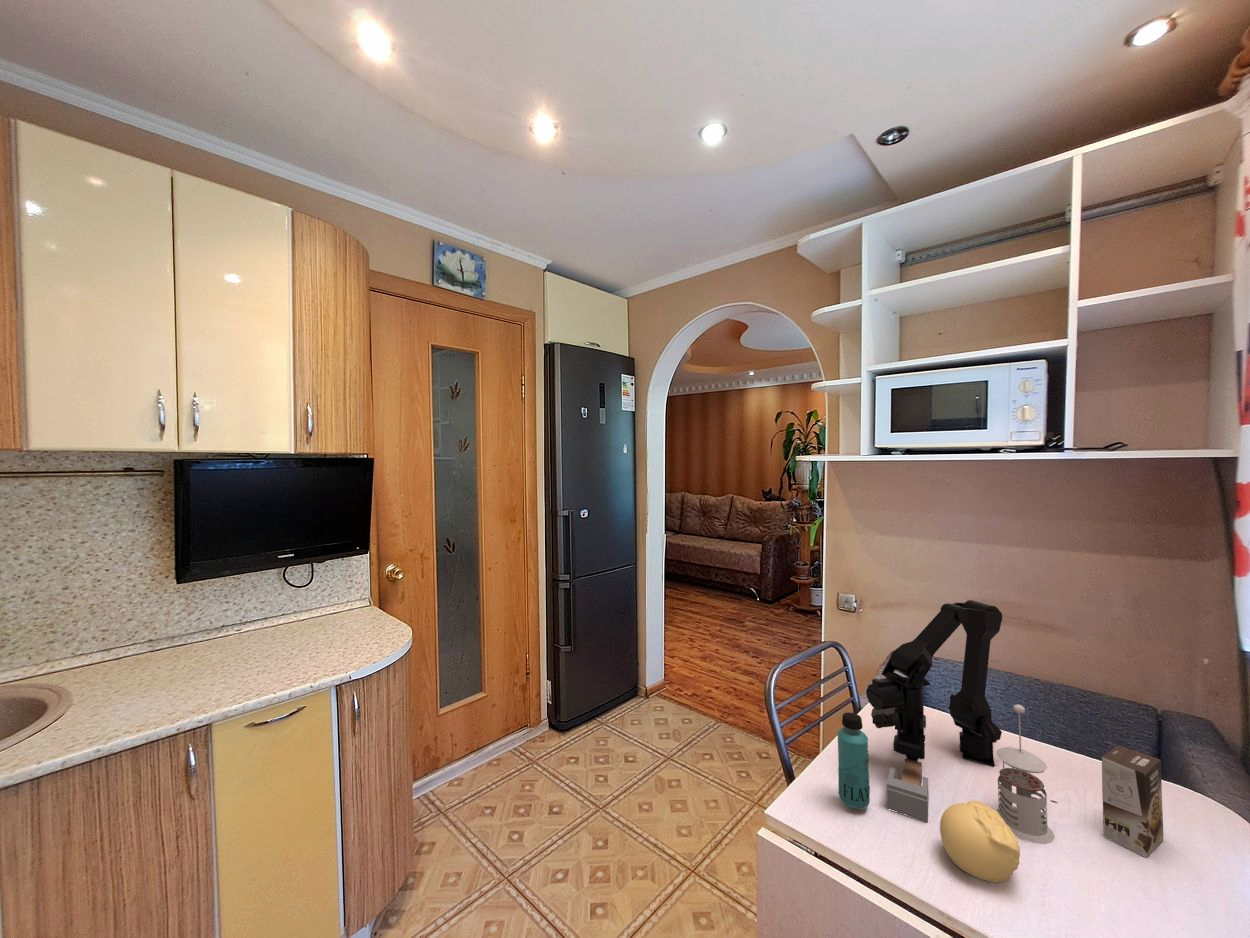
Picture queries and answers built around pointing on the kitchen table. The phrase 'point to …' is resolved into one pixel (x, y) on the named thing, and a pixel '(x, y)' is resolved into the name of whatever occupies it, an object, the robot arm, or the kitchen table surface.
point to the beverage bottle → (853, 762)
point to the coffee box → (1132, 800)
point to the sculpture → (979, 841)
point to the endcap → (908, 797)
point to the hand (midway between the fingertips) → (911, 766)
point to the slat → (912, 772)
